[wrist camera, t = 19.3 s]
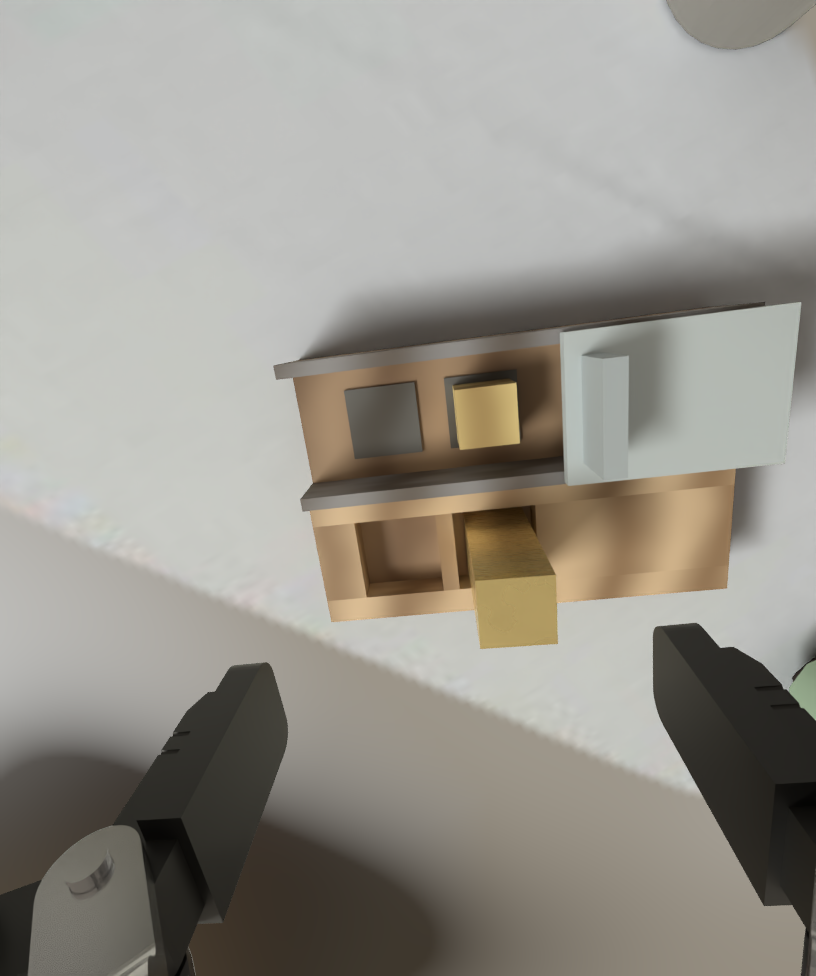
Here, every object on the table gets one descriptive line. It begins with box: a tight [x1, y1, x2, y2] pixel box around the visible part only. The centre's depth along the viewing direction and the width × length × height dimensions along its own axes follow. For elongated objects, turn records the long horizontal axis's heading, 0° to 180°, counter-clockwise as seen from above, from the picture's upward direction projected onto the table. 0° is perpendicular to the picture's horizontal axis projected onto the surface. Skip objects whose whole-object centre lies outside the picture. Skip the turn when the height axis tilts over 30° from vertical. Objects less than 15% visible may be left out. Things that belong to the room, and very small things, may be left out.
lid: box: [560, 302, 801, 486], centre depth 26 cm, size 12×9×4 cm
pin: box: [463, 507, 558, 649], centre depth 30 cm, size 4×4×10 cm
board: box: [274, 302, 765, 622], centre depth 33 cm, size 27×18×6 cm, turn 97°
